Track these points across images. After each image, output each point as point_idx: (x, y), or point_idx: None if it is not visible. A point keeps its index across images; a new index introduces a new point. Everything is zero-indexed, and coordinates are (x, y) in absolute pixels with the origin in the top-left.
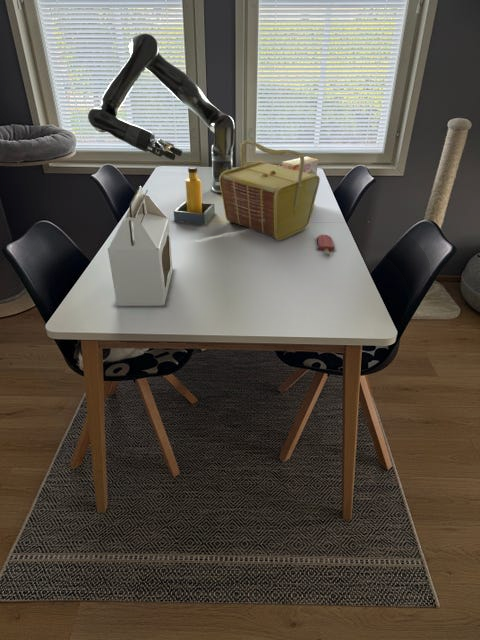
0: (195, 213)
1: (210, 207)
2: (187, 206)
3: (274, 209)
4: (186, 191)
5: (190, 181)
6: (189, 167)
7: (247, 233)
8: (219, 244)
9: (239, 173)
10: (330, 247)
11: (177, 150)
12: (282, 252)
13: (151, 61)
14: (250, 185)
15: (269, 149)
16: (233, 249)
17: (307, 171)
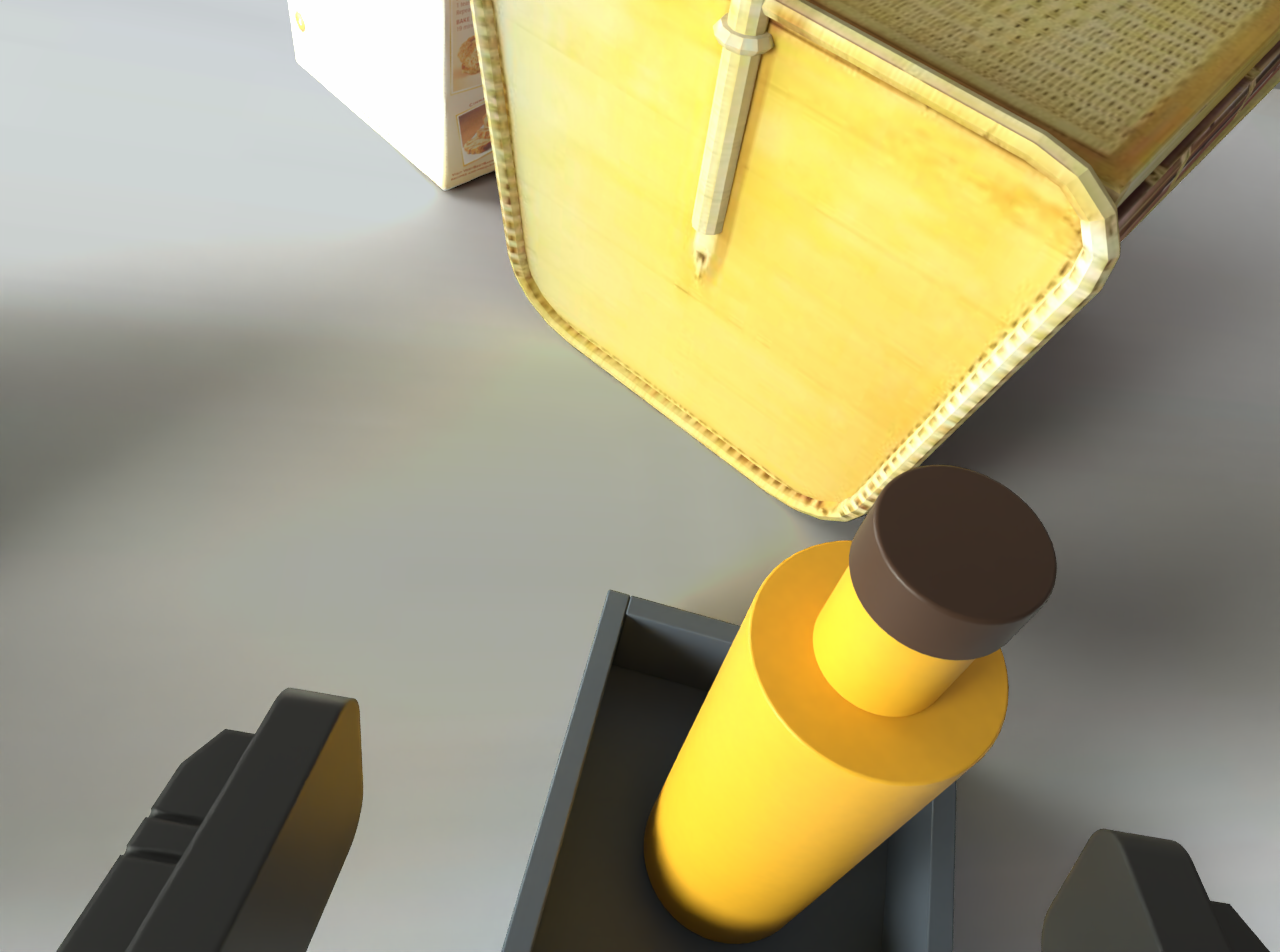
0: (954, 785)
1: (732, 628)
2: (813, 898)
3: (1257, 103)
4: (877, 840)
5: (994, 690)
6: (970, 597)
7: (970, 420)
8: (1238, 608)
9: (1004, 59)
10: None
11: (287, 865)
12: (1177, 285)
13: None
14: (1255, 63)
15: None
16: (1271, 520)
17: None
